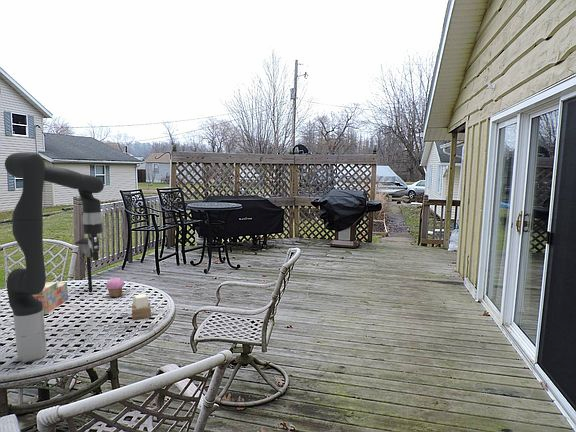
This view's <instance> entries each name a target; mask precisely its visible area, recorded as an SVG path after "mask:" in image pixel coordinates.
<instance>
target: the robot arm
mask: <svg viewBox="0 0 576 432" xmlns="http://www.w3.org/2000/svg"><path fill="white" fill-rule="evenodd" d="M4 168H5V170H6V172H7V174H9V175H10V176H11V177H14V178H18V179H22V191H21V195H20V197H19V200H18V201H17V203H16V205H15V207H14V209H13V213H12V221H11V222H12V223H11V224H12V225H11V226H12V227H11V228H12V229H11V230H12V235H13V238H14V239H15V241H16V244H18V246H19V248H20V249H21V251H22V254H23V255H24V260H25V268H19V267H18V268H15V269H13V270H11V271H10V273H9V274H8V276H7V278H6V279H7V280H6V292H7V298H8V304H9V307H10V309H11V310H12V316H13V325H14V337H15V346H16V347H15V348H16V357H17V360H18V361H19V362H22V363H23V364H24V363H27V362H31V361H36V360H40V359H43V357H45V355H47V352H48V351H47V341H46V340H47V339H46V329H45V328H46V327H45V318H44V317H45V316H44V315H45V314H43V304H42V302H41V301H40V300H38V299H36V298H35V297H33V295H36V294H39V293H41V292H42V290H43V289H44V287H45V283H46V281H47V275H46V274H47V273H46V267H45V266H46V265H45V257H44V244H43V243H44V242H43V233H44V232H43V231H44V230H43V229H44V223H43V221H44V216H43V196H44V195H43V192H44V183H45V182H47V183H50V184H55V185H58V186H59V185H60V186H62V187H64V188H69V189H73V190H77V191H78V194H79V197H80V201H81V202H82V230H83V234H85V235H87V236H88V237H87V238H88V244H89V249H90V258H92V261H93V262H97V261H99V257H100V256H99V252H100V238H99V237H98V234H102V233H103V218H102V217H103V215H102V211H101V210H102V207H101V200H100V199H98V198H95V197H94V195H93V194H99V193H101V192H103V190H104V188H105V183H104V181H103V180H102V179H101V178H100V177H98V176H95V175H90V174H85V173H80V172H78V171H74V170H71V169H68V168H63V167H60V166H59V167H57V166H51V165H46V164H45V161H44V158H43V157H42V156H41V155H40V154H39V153H38V152H32V151H31V152H14V153H12V154H11V153H10V154H9V155H8V156H7V157H6V158H5V161H4Z"/></svg>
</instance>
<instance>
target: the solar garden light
mask: <svg viewBox="0 0 576 432" xmlns="http://www.w3.org/2000/svg"><path fill="white" fill-rule="evenodd" d="M74 244H75V245H78V246H79V247H80V249H81V250H82V253H83V255H84V256H85V257H86V271H87V282H88V283H87V285H88V292H89V293H92V291H93V281H92V267H91V265H92V263H91V257H90V249H89V244H88V237H85V238H81V239H79V240H77V241H76V242H74Z"/></svg>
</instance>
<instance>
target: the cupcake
mask: <svg viewBox="0 0 576 432" xmlns="http://www.w3.org/2000/svg"><path fill="white" fill-rule="evenodd" d="M124 286H125V282H124V280H123V279H122V278H120V277H114V278H110V279H108V280H107V282H106V284H105V288H106V289H107V290H108V291H107V292H108V294H109V295H110V297H112V298H113V297H115V298H118V297H120V296H121V295H123V287H124Z"/></svg>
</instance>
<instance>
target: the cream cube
mask: <svg viewBox="0 0 576 432" xmlns="http://www.w3.org/2000/svg"><path fill="white" fill-rule="evenodd" d="M133 298H134V306H135V307H136V308H137V309H139V308H145V307H148V303H149V297H148V295H147V294H146V293H142V294H134V295H133Z"/></svg>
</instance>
